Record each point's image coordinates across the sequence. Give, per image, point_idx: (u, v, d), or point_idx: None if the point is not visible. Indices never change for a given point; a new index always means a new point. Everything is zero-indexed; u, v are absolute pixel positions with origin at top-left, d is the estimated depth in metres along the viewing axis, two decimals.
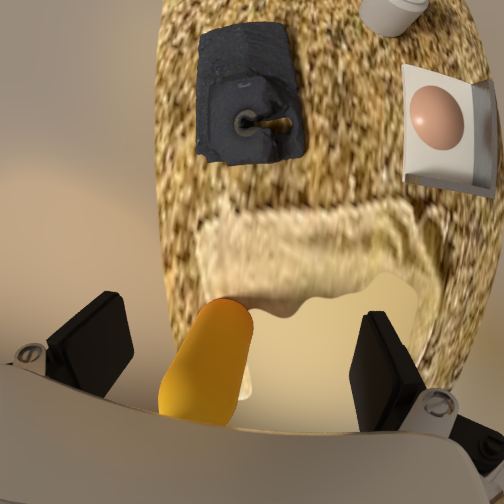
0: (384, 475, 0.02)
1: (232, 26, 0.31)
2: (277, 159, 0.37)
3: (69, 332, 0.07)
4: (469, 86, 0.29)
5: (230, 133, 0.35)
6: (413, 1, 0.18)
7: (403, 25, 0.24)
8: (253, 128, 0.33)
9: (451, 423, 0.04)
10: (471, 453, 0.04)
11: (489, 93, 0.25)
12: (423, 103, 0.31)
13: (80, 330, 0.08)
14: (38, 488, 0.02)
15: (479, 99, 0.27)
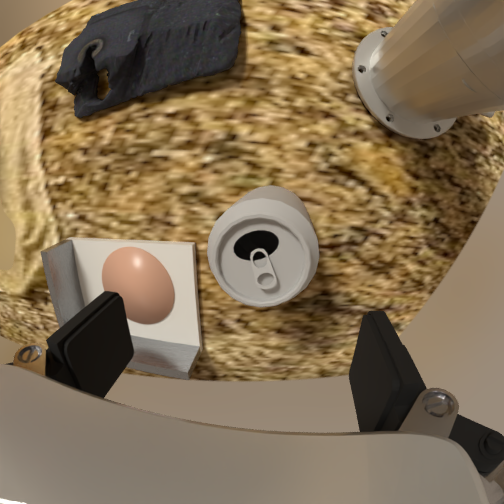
0: (384, 475, 0.02)
1: (232, 10, 0.21)
2: (70, 92, 0.25)
3: (70, 331, 0.07)
4: (195, 343, 0.33)
5: (87, 39, 0.21)
6: (213, 266, 0.18)
7: None
8: (82, 58, 0.21)
9: (451, 423, 0.04)
10: (471, 453, 0.04)
11: (168, 368, 0.29)
12: (144, 267, 0.31)
13: (80, 330, 0.08)
14: (38, 488, 0.02)
15: (171, 352, 0.32)
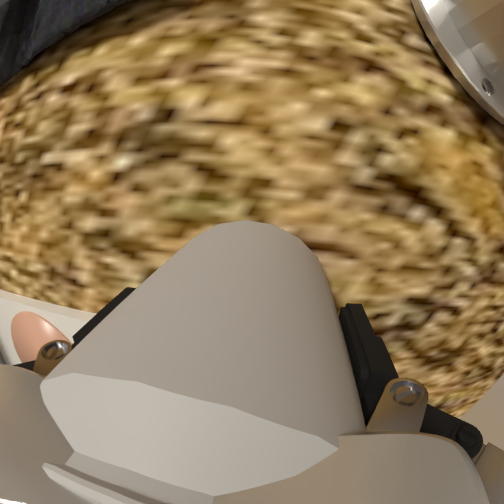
0: (384, 475, 0.02)
1: None
2: None
3: None
4: None
5: None
6: None
7: None
8: None
9: (422, 411, 0.05)
10: None
11: None
12: None
13: None
14: (38, 488, 0.02)
15: None
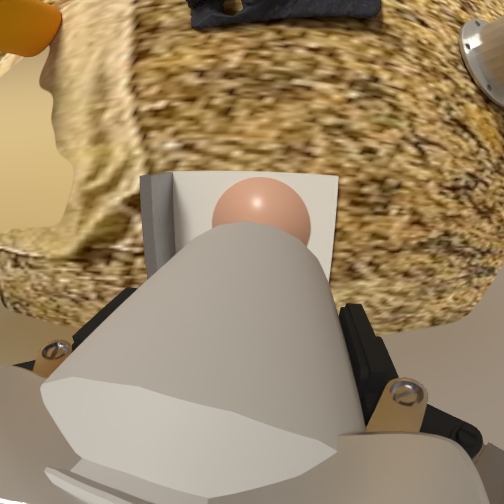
0: (384, 475, 0.02)
1: None
2: (189, 3, 0.22)
3: (96, 327, 0.08)
4: None
5: None
6: None
7: None
8: None
9: (422, 411, 0.05)
10: None
11: None
12: (277, 201, 0.28)
13: None
14: (38, 488, 0.02)
15: None
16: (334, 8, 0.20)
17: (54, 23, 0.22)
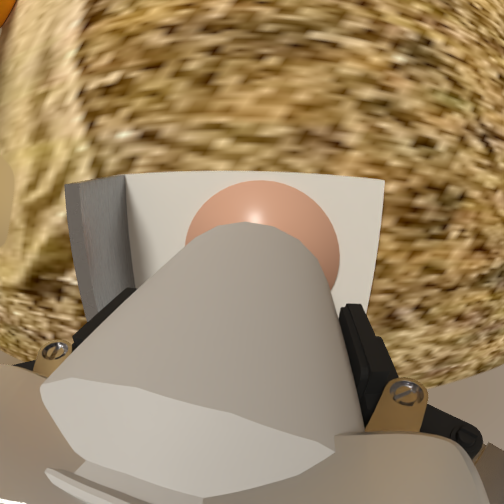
0: (384, 475, 0.02)
1: None
2: None
3: (96, 327, 0.08)
4: None
5: None
6: None
7: None
8: None
9: (422, 411, 0.05)
10: None
11: None
12: (287, 219, 0.17)
13: None
14: (38, 488, 0.02)
15: None
16: None
17: (7, 0, 0.12)
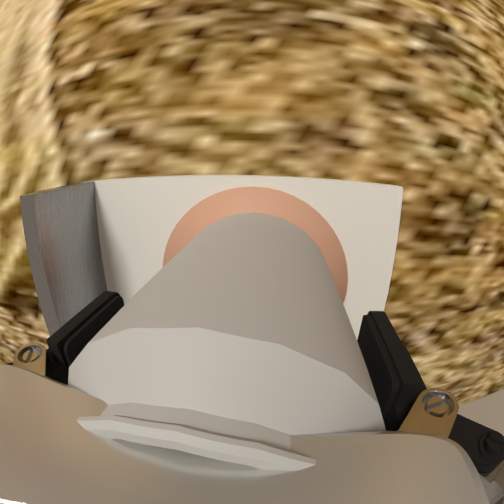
0: (384, 475, 0.02)
1: None
2: None
3: (70, 331, 0.07)
4: None
5: None
6: None
7: None
8: None
9: (451, 423, 0.04)
10: (471, 453, 0.04)
11: None
12: None
13: (80, 330, 0.08)
14: (38, 488, 0.02)
15: None
16: None
17: None
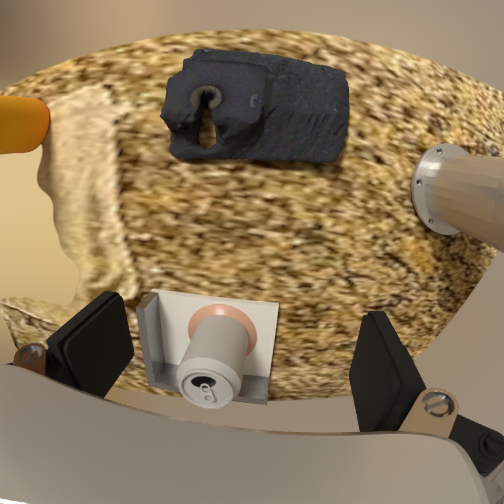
0: (384, 475, 0.02)
1: (344, 105, 0.29)
2: (169, 128, 0.32)
3: (69, 332, 0.07)
4: (266, 374, 0.42)
5: (200, 81, 0.28)
6: (180, 388, 0.29)
7: None
8: (197, 104, 0.28)
9: (451, 423, 0.04)
10: (471, 453, 0.04)
11: (251, 397, 0.37)
12: None
13: (80, 330, 0.08)
14: (38, 488, 0.02)
15: (249, 383, 0.40)
16: (296, 154, 0.31)
17: (43, 125, 0.32)
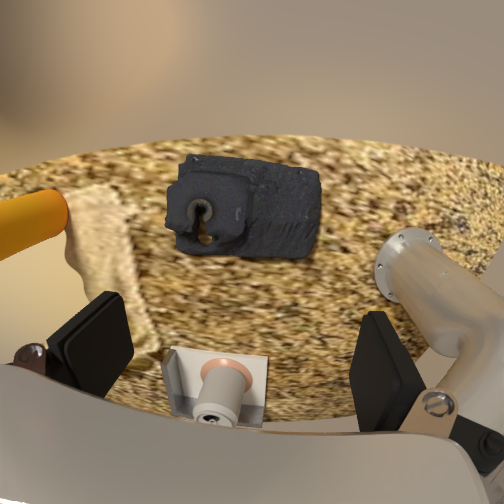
0: (384, 475, 0.02)
1: (315, 209, 0.39)
2: None
3: (70, 331, 0.07)
4: (262, 404, 0.52)
5: (194, 194, 0.39)
6: None
7: None
8: (193, 217, 0.39)
9: (451, 423, 0.04)
10: (471, 453, 0.04)
11: (249, 423, 0.48)
12: None
13: (80, 330, 0.08)
14: (38, 488, 0.02)
15: (248, 412, 0.50)
16: (275, 253, 0.41)
17: (64, 216, 0.44)
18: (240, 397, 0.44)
